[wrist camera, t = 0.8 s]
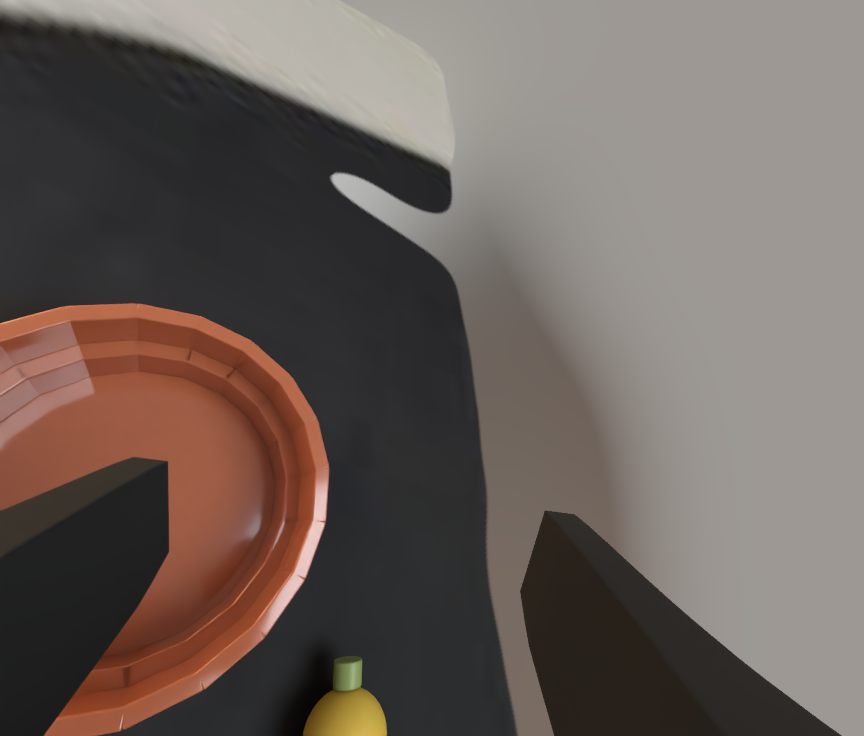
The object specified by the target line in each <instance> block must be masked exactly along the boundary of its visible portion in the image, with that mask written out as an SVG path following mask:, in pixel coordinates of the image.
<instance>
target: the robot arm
mask: <svg viewBox="0 0 864 736" xmlns="http://www.w3.org/2000/svg"><path fill="white" fill-rule="evenodd" d="M168 553H169V490H168V461H162V460H155V459H147V458H139V457H131V458H129V459H126V460H123V461H120V462H117V463H114V464H112V465H109V466H107V467H104V468H102V469H99V470H97V471H94V472H92V473H89V474H87V475H85V476H82V477H80V478H78V479H75V480H73V481H70V482H68V483H66V484H63V485H61V486H59V487H56V488H54V489H51V490H49V491H47V492H44V493H42V494H39V495H37V496H35V497H32V498H30V499H27V500H25V501H23V502H20V503H18V504H16V505H13V506H11V507H8V508H6V509H4V510H1V511H0V736H44V735H45V733H46V732H47V731H48V729H49V728H50V727H51V725H52V724H53V723H54V721H55V720H56V718H57V717H58V716H59V714H60V713H61V712H62V710H63V709H64V708H65V706H66V705H67V703H68V702H69V701H70V699H71V698H72V697H73V695H74V694H75V693H76V691H77V690H78V688H79V687H80V686H81V684H82V683H83V682H84V680H85V679H86V678H87V676H88V675H89V674H90V672H91V671H92V669H93V668H94V667H95V665H96V664H97V663H98V661H99V660H100V659H101V657H102V656H103V654H104V653H105V652H106V650H107V649H108V648H109V646H110V645H111V643H112V642H113V641H114V639H115V638H116V637H117V635H118V634H119V632H120V631H121V630H122V628H123V627H124V625H125V624H126V623H127V621H128V620H129V619H130V617H131V616H132V614H133V613H134V611H135V610H136V609H137V607H138V606H139V604H140V602H141V601H142V599H143V597H144V596H145V594H146V592H147V590H148V589H149V587H150V585H151V584H152V582H153V580H154V578H155V577H156V575H157V573H158V571H159V569H160V567H161V566H162V564H163V562H164V560H165V558H166V557H167V555H168ZM520 592H521V599H522V606H523V613H524V619H525V625H526V630H527V637H528V642H529V647H530V651H531V654H532V658H533V662H534V666H535V669H536V673H537V676H538V680H539V684H540V687H541V691H542V694H543V698H544V701H545V705H546V708H547V712H548V715H549V719H550V722H551V725H552V729H553V732H554V736H841V735H840V734H839V733H837V732H836V731H834V730H833V729H831V728H830V727H829V726H827V725H826V724H824V723H823V722H822V721H820V720H819V719H818V718H816V717H815V716H814V715H812V714H811V713H810V712H808V711H807V710H805V709H804V708H803V707H802V706H800V705H799V704H798V703H796V702H795V701H794V700H792V699H791V698H790V697H788V696H787V695H786V694H784V693H783V692H782V691H780V690H779V689H777V688H776V687H775V686H774V685H772V684H771V683H770V682H768V681H767V680H766V679H764V678H763V677H762V676H760V675H759V674H758V673H757V672H755V671H754V670H753V669H752V668H750V667H749V666H748V665H747V664H745V663H744V662H743V661H741V660H740V659H739V658H738V657H737V656H735V655H734V654H733V653H732V652H731V651H729V650H728V649H727V648H726V647H725V646H723V645H722V644H721V643H720V642H718V641H717V640H716V639H715V638H714V637H713V636H711V635H710V634H709V633H708V632H707V631H705V630H704V629H703V628H702V627H701V626H699V625H698V624H697V623H696V622H694V621H693V620H692V619H691V618H690V617H689V616H688V615H686V614H685V613H684V612H683V611H682V610H681V609H680V608H678V607H677V606H676V605H675V604H674V603H672V601H670V600H669V599H668V598H667V597H666V596H665V595H664V594H663V593H662V592H660V591H659V590H658V589H657V588H656V587H655V586H654V585H653V584H652V583H650V582H649V581H648V580H647V579H646V578H645V577H644V576H643V575H642V574H641V573H639V572H638V571H637V570H636V569H635V568H634V567H633V566H632V565H631V564H630V563H629V562H627V561H626V560H625V559H624V558H623V557H622V556H621V555H620V554H619V553H618V552H617V551H616V550H614V549H613V548H612V547H611V546H610V545H609V544H608V543H607V542H606V541H605V540H604V539H602V538H601V537H600V536H599V535H598V534H597V533H596V532H595V531H593V530H592V529H591V528H590V527H589V526H588V525H587V524H586V523H584V522H583V521H582V520H581V519H580V518H578V517H577V516H575V515H574V514H567V513H559V512H552V511H545V512H544V516H543V519H542V522H541V526H540V529H539V532H538V535H537V538H536V542H535V545H534V548H533V551H532V555H531V558H530V561H529V564H528V568H527V571H526V574H525V578H524V581H523V584H522V588H521V591H520Z"/></svg>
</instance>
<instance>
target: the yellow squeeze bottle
mask: <svg viewBox="0 0 864 736" xmlns="http://www.w3.org/2000/svg"><path fill="white" fill-rule="evenodd" d="M361 684H362V658H360V657H357V656H345V657H340V658H337V659H335V660H334V669H333V690H332V691H330V692H328V693H327V694H326V695H324V696H323V697H322V698H321V699H320V700H319V701H318V702H317V704H316V705H315V707H314V708H313V709H312V711H311V713H310V715H309V717H308V719H307V721H306V725H305V728H304V732H303V736H387V728H386V720H385V716H384V713H383V711H382V708H381V706H380V704H379V702H378V701H377V700H376V698H375V697H374V696H373V695H372V694H371V693H370V692H368V691H367V690H365V689H363V688H361Z"/></svg>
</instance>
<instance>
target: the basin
mask: <svg viewBox="0 0 864 736" xmlns="http://www.w3.org/2000/svg"><path fill="white" fill-rule="evenodd" d="M131 457H139V458H147V459H155V460H162V461H168V490H169V553H168V555H167V557H166V558H165V560H164V562H163V564H162V566H161V567H160V569H159V571H158V573H157V575H156V577H155V578H154V580H153V582H152V584H151V585H150V587H149V589H148V590H147V592H146V594H145V596H144V597H143V599H142V601H141V602H140V604H139V606H138V607H137V609H136V610H135V611H134V613H133V614H132V616H131V617H130V619H129V620H128V621H127V623H126V624H125V625H124V627H123V628H122V630H121V631H120V632H119V634H118V635H117V637H116V638H115V639H114V641H113V642H112V643H111V645H110V646H109V648H108V649H107V650H106V652H105V653H104V654H103V656H102V657H101V659H100V660H99V661H98V663H97V664H96V665H95V667H94V668H93V669H92V671H91V672H90V674H89V675H88V676H87V678H86V679H85V680H84V682H83V683H82V684H81V686H80V687H79V688H78V690H77V691H76V693H75V694H74V695H73V697H72V698H71V699H70V701H69V702H68V703H67V705H66V706H65V708H64V709H63V710H62V712H61V713H60V714H59V716H58V717H57V718H56V720H55V721H54V723H53V724H52V725H51V727H50V728H49V729H48V731H47V732H46V733H45V735H44V736H99V735H104V734H109V733H114V732H119V731H121V730H122V729H123V730H124V729H127V728H129V727H131V726H133V725H135V724H137V723H139V722H141V721H143V720H145V719H147V718H149V717H151V716H153V715H155V714H157V713H159V712H161V711H163V710H165V709H167V708H169V707H171V706H173V705H175V704H177V703H179V702H181V701H183V700H185V699H187V698H189V697H191V696H193V695H195V694H197V693H199V692H201V691H202V690H203V689H206V688H207V687H209V686H210V685H211V684H212V683H213V682H214V681H215V680H217V679H218V678H219V677H220V676H221V675H222V674H224V673H225V672H226V671H227V670H228V669H229V668H231V667H232V666H233V665H234V664H235V663H236V662H238V661H239V660H240V659H241V658H242V657H243V656H244V655H246V654H247V653H248V652H249V651H250V650H251V649H253V648H254V647H255V646H256V645H257V644H258V643H260V642H261V641H262V640H263V639H264V638H265V636H266V635H267V634H268V633H269V631H270V630H271V628H272V627H273V626H274V624H275V623H276V621H277V620H278V618H279V617H280V616H281V614H282V613H283V611H284V610H285V608H286V607H287V606H288V604H289V603H290V601H291V600H292V598H293V597H294V596H295V594H296V593H297V591H298V590H299V588H300V587H301V585H302V584H303V583H304V581H305V580H304V579H306V577H307V574H308V571H309V569H310V566H311V563H312V560H313V558H314V555H315V552H316V549H317V546H318V544H319V541H320V538H321V535H322V533H323V530H324V527H325V524H326V523H325V522H326V518H327V501H328V485H329V464H328V460H327V456H326V452H325V448H324V443H323V439H322V435H321V431H320V427H319V423H318V420H317V417H316V415H315V414H314V412H313V410H312V409H311V407H310V406H309V404H308V402H307V401H306V399H305V397H304V396H303V394H302V392H301V391H300V389H299V387H298V386H297V384H296V383H295V381H294V379H293V378H292V377H290V374H288V373H287V372H286V371H285V370H284V369H283V368H282V367H281V366H279V365H278V364H277V363H276V362H275V361H274V360H273V359H272V358H270V357H269V356H268V355H267V354H266V353H265V352H264V351H263V350H261V349H260V348H259V347H258V346H257V345H256V344H255V343H254V342H252V341H251V340H249V339H247V338H245V337H243V336H241V335H239V334H237V333H235V332H233V331H230V330H228V329H226V328H224V327H222V326H220V325H218V324H216V323H214V322H212V321H210V320H208V319H206V318H204V317H200V316H198V315H193V314H188V313H183V312H178V311H173V310H168V309H163V308H158V307H153V306H148V305H143V304H138V305H137V304H109V305H81V306H66V307H59V308H55V309H52V310H48V311H44V312H41V313H37V314H33V315H30V316H26V317H22V318H19V319H15V320H11V321H8V322H4V323H0V511H1V510H4V509H6V508H8V507H11V506H13V505H16V504H18V503H20V502H23V501H25V500H27V499H30V498H32V497H35V496H37V495H39V494H42V493H44V492H47V491H49V490H51V489H54V488H56V487H59V486H61V485H63V484H66V483H68V482H70V481H73V480H75V479H78V478H80V477H82V476H85V475H87V474H89V473H92V472H94V471H97V470H99V469H102V468H104V467H107V466H109V465H112V464H114V463H117V462H120V461H123V460H126V459H129V458H131Z"/></svg>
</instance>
